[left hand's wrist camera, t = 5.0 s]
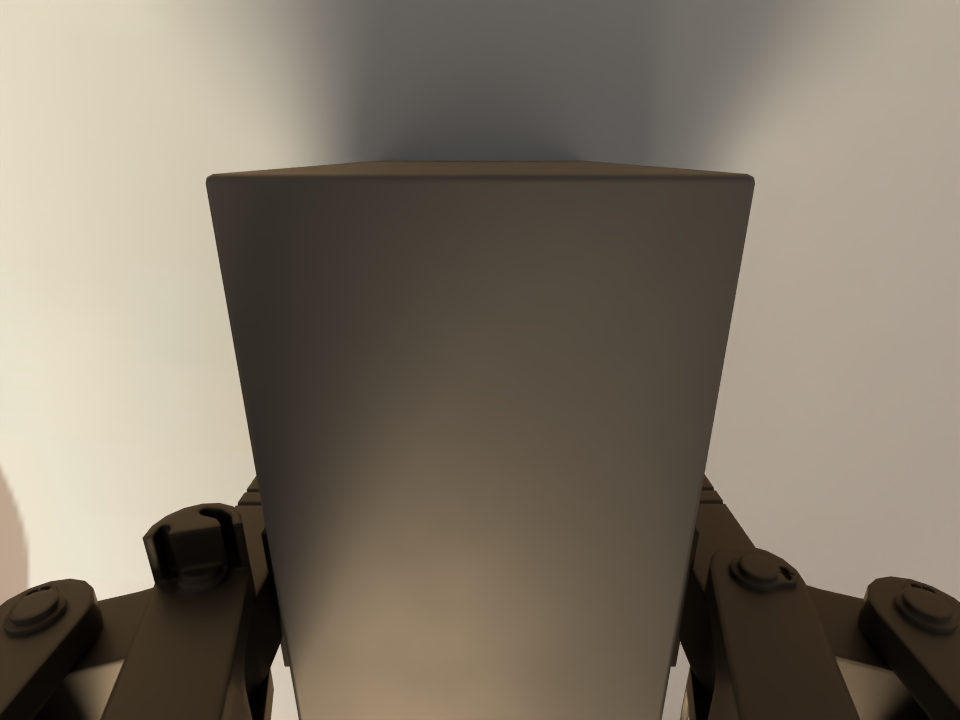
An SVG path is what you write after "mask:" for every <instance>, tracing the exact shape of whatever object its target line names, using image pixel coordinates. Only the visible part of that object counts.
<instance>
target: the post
mask: <svg viewBox="0 0 960 720" xmlns="http://www.w3.org/2000/svg"><path fill="white" fill-rule="evenodd" d="M754 185H755V181H754V177H752V176H750V175H748V174H739V173H727V172H714V171H702V170H689V169H677V168H664V167H651V166H639V165H626V164H614V163H601V162H589V161H372V162H359V163H347V164H334V165H322V166H309V167H297V168H284V169H272V170H259V171H247V172H234V173H222V174H213V175H210V176H208V177H207V179H206V187H207V193H208V199H209V205H210V210H211V216H212V222H213V228H214V233H215V239H216V245H217V251H218V256H219V262H220V268H221V274H222V279H223V285H224V291H225V297H226V302H227V308H228V314H229V320H230V325H231V331H232V337H233V343H234V348H235V354H236V360H237V366H238V371H239V377H240V383H241V389H242V394H243V400H244V406H245V412H246V417H247V423H248V429H249V435H250V440H251V446H252V452H253V458H254V463H255V469H256V475H257V481H258V486H259V492H260V498H261V504H262V509H263V515H264V521H265V527H266V532H267V538H268V544H269V550H270V555H271V561H272V567H273V573H274V578H275V584H276V590H277V596H278V601H279V607H280V613H281V619H282V624H283V630H284V636H285V642H286V647H287V653H288V659H289V665H290V670H291V676H292V682H293V688H294V693H295V699H296V705H297V711H298V716H299V720H661V719H662V713H663V708H664V702H665V696H666V690H667V685H668V679H669V673H670V667H671V662H672V656H673V650H674V645H675V639H676V633H677V627H678V622H679V616H680V610H681V604H682V599H683V593H684V587H685V581H686V576H687V570H688V564H689V558H690V553H691V547H692V541H693V535H694V530H695V524H696V518H697V513H698V507H699V501H700V495H701V490H702V484H703V478H704V472H705V467H706V461H707V455H708V449H709V444H710V438H711V432H712V426H713V421H714V415H715V409H716V404H717V398H718V392H719V386H720V381H721V375H722V369H723V363H724V358H725V352H726V346H727V340H728V335H729V329H730V323H731V317H732V312H733V306H734V300H735V294H736V289H737V283H738V277H739V272H740V266H741V260H742V254H743V249H744V243H745V237H746V231H747V226H748V220H749V214H750V208H751V203H752V197H753V191H754Z"/></svg>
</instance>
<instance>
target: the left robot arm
mask: <svg viewBox="0 0 960 720" xmlns="http://www.w3.org/2000/svg"><path fill="white" fill-rule="evenodd" d="M143 541H144V545H145V548H146V552H147V556H148V559H149V563H150V567H151V570H152V574H153V577H154V581H155V585H154V587H153V588H150V589H147V590H144V591H140V592H136V593H132V594H127V595H123V596H119V597H114V598H110V599H105V600H101V601H97V598H96V595H95V592H94V589H93V587H91V586H90V585H89V584H88V583H87V582H86V581H82V580H75V579H65V580H57V581H51V582H48V583H45V584H41V585H39V586H36V587H33V588H30V589H28V590H26V591H24V592H22V593H20V594H18V595H16V596H15V597H13V598H11V599H9V600H7V601H6V602H4V603H3V604H2V605H1V606H0V720H271V712H272V702H273V692H274V688H273V680H272V674H271V669H270V667H271V665H272V662H273V660H274V657H275V655H276V653H277V650H278V648H279V645H280V643H281V648H282V654H283V659H284V665H285V666H290V665H289V659H288V653H287V647H286V642H285V636H284V630H283V624H282V619H281V613H280V607H279V601H278V596H277V590H276V584H275V578H274V573H273V567H272V561H271V555H270V550H269V544H268V538H267V532H266V527H265V521H264V515H263V509H262V504H261V498H260V492H259V486H258V481H257V476H256V477H255V479H254V480H253V481H252V483H251V484H250V486H249V487H248V489H247V493H244V494H243V496H242V497H241V499H240V500H239V502H238V506H235V507H233V506H229V505H225V504H221V503H209V504H199V505H195V506H191V507H187V508H183V509H181V510H179V511H177V512H174V513H172V514H170V515H168V516H166V517H164V518H163V519H161V520H160V521H159V522H157V523H156V524H154V525H153V526H152V527H151V528H150V529H149V531H148V532H147V533H146V534H145V536H144V537H143ZM680 642H681V644H682V647H683V649H684V651H685V654H686V656H687V659H688V661H689V664H690V669H689V674H688V679H687V685H686V690H685V695H684V700H683V705H682V711H681V718H680V720H688V717H689V720H960V602H959V601H957V600H956V599H955V598H953V597H951V596H949V595H948V594H946V593H944V592H942V591H940V590H938V589H936V588H934V587H932V586H929V585H927V584H924V583H920V582H917V581H914V580H911V579H906V578H898V577H884V578H878V579H875V580H874V581H873V582H872V583H871V584H870V585H868V587H867V590H866V593H865V596H864V599H861V598H856V597H852V596H847V595H843V594H839V593H834V592H830V591H825V590H821V589H818V588H814V587H811V586H807V585H806V584H805V582H804V580H803V579H802V578H801V576H800V575H799V573H798V572H797V570H796V569H794V568H793V567H792V566H791V565H789V564H788V563H787V562H786V561H785V560H783V559H782V558H780V557H778V556H776V555H774V554H772V553H770V552H768V551H766V550H762V549H758V548H755V546H754V545H753V543H752V542H751V540H750V539H749V538H748V536H747V535H746V533H745V532H744V530H743V529H742V528H741V526H740V525H739V523H738V522H737V520H736V519H735V517H734V516H733V515H732V513H731V512H730V510H729V509H728V507H727V506H726V505H725V504H723V500H722V499H721V497H720V496H719V495H718V493H717V492H716V491H714V487H713V486H712V484H711V483H710V482H709V480H708V479H707V477H706V476H705V474H704V478H703V484H702V490H701V495H700V501H699V507H698V513H697V518H696V524H695V530H694V535H693V541H692V547H691V553H690V558H689V564H688V570H687V576H686V581H685V587H684V593H683V599H682V604H681V610H680V616H679V622H678V627H677V633H676V639H675V645H674V650H673V656H672V662H671V666H676V661H677V656H678V650H679V644H680Z"/></svg>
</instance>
